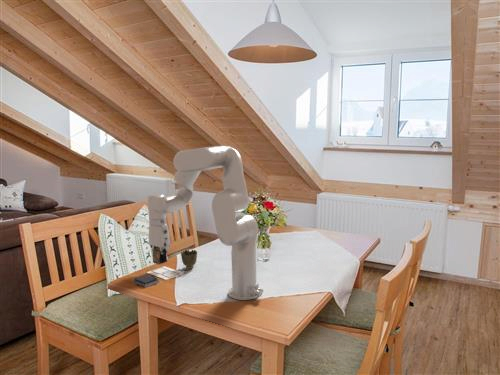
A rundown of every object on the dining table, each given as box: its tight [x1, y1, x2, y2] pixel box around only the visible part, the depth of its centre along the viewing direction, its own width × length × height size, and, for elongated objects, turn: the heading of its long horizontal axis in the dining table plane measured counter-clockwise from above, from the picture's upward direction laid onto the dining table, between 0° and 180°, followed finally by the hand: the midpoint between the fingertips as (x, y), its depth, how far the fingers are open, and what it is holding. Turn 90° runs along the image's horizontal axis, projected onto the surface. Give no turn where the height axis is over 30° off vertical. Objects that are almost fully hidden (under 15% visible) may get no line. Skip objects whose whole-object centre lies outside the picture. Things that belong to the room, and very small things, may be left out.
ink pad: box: [132, 273, 160, 288], centre depth 179 cm, size 9×7×2 cm
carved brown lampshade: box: [180, 249, 198, 270], centre depth 195 cm, size 8×7×8 cm
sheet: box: [146, 266, 185, 281], centre depth 190 cm, size 14×10×1 cm
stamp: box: [151, 247, 168, 265], centre depth 191 cm, size 4×4×7 cm
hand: (159, 260), depth 191 cm, fingers closed on stamp, 4 cm apart
